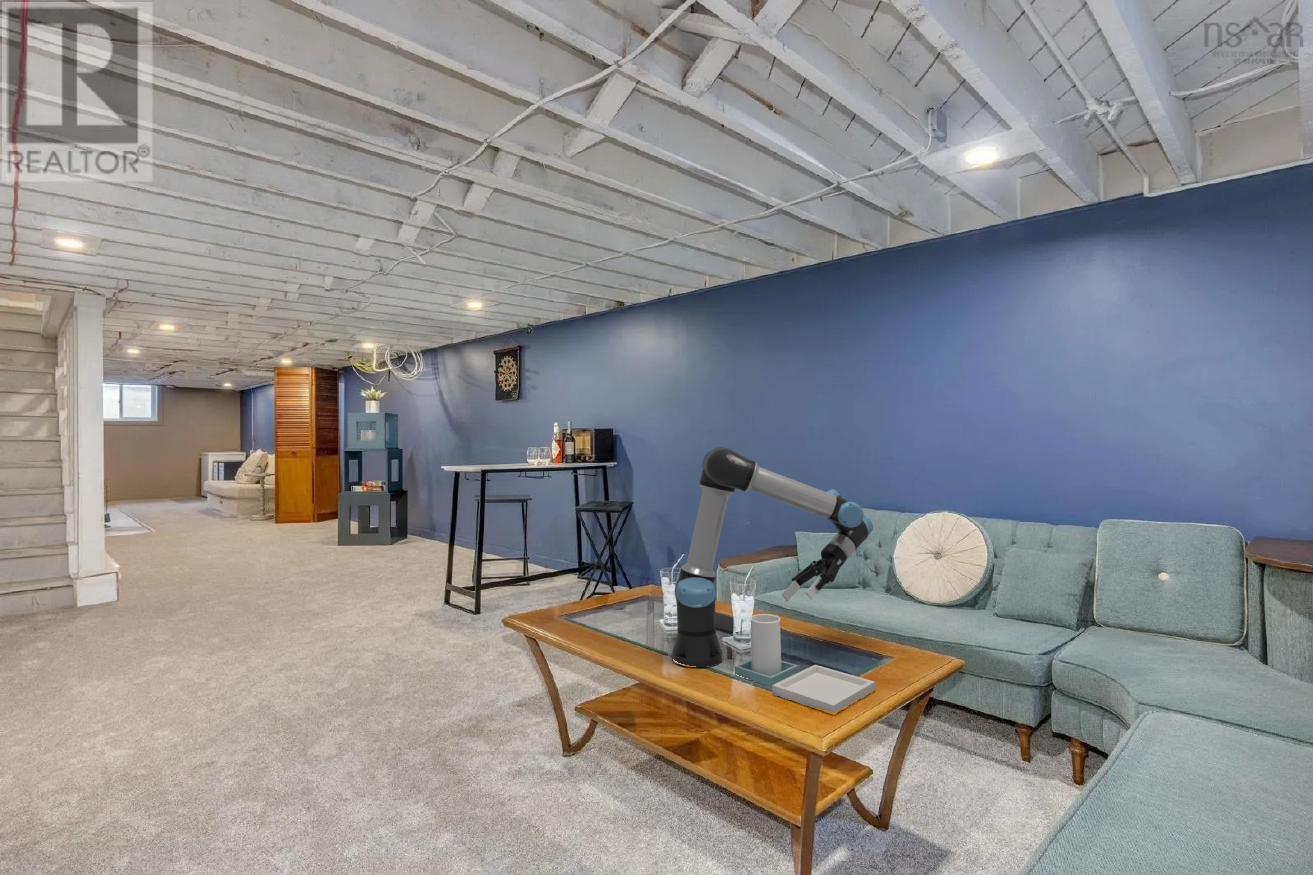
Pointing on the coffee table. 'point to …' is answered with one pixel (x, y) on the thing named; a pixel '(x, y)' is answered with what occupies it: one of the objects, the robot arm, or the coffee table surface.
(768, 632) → the cup
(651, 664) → the coffee table surface
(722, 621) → the dark upright panel
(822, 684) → the tray
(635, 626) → the coffee table surface
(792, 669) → the collar
